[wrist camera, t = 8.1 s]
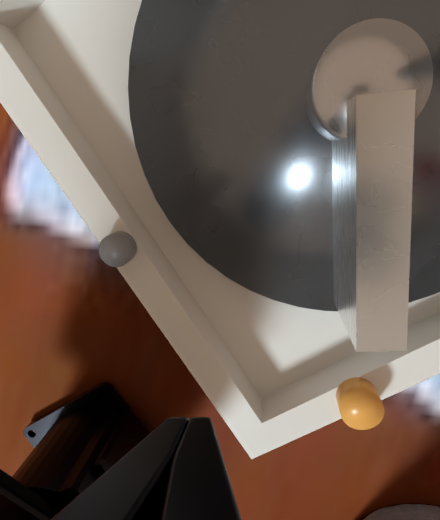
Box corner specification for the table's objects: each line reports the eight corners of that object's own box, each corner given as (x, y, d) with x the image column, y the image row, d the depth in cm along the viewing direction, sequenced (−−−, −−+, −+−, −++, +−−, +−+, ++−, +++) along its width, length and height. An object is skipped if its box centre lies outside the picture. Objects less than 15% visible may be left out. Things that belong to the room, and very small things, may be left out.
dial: (106, -124, 16) (19, -273, 10) (626, -220, 13) (876, -478, 8) (161, 310, 20) (122, 369, 15) (558, 295, 18) (689, 359, 12)
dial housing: (254, 422, 23) (252, 480, 19) (-18, 26, 19) (-96, -8, 15) (738, 190, 17) (884, 201, 13) (490, -435, 13) (587, -690, 9)
